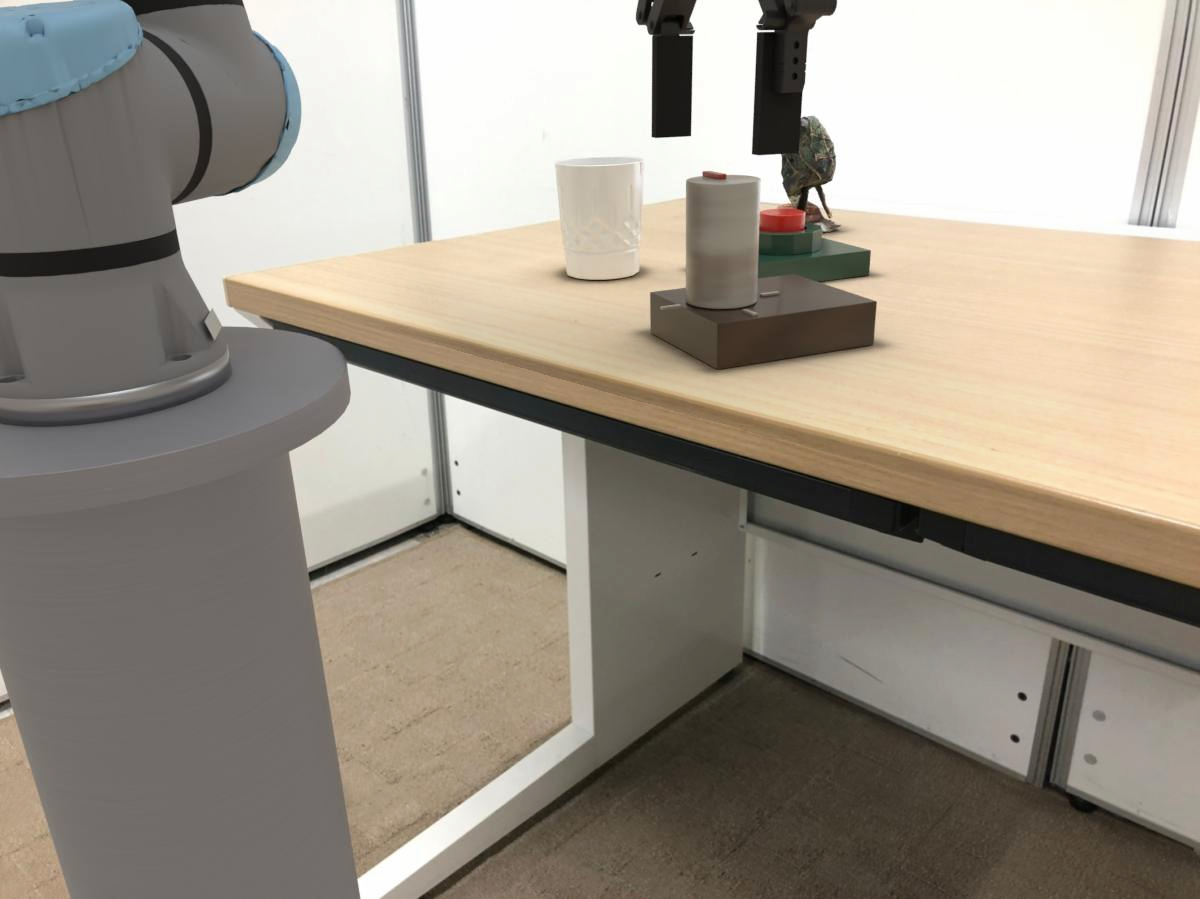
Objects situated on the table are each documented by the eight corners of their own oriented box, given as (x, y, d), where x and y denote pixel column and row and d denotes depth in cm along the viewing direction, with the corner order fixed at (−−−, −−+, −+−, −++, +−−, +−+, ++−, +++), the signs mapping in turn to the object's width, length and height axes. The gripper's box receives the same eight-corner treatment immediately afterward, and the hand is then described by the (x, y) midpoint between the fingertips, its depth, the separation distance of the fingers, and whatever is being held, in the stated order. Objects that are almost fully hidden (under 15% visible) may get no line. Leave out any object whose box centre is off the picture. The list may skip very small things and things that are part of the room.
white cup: (628, 261, 95) (626, 154, 92) (657, 277, 88) (656, 161, 85) (550, 268, 93) (544, 159, 90) (573, 285, 86) (568, 167, 83)
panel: (696, 373, 62) (696, 324, 61) (631, 335, 71) (630, 292, 69) (873, 344, 67) (877, 298, 65) (792, 312, 75) (794, 271, 74)
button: (774, 237, 85) (774, 216, 84) (750, 230, 88) (750, 210, 88) (813, 233, 86) (814, 212, 86) (788, 226, 90) (789, 207, 89)
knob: (770, 303, 65) (775, 175, 62) (706, 312, 64) (708, 180, 61) (734, 289, 70) (737, 168, 66) (673, 297, 68) (673, 173, 65)
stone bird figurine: (778, 240, 104) (786, 33, 96) (753, 223, 114) (758, 35, 106) (854, 236, 104) (867, 31, 97) (821, 219, 115) (831, 33, 107)
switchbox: (750, 290, 82) (751, 242, 81) (694, 269, 91) (695, 225, 90) (869, 275, 87) (872, 229, 85) (805, 256, 95) (807, 214, 94)
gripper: (935, -318, 45) (890, 159, 54) (688, -199, 67) (682, 129, 75) (796, -337, 43) (771, 166, 51) (585, -207, 64) (591, 133, 72)
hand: (718, 145), depth 63 cm, fingers open, 13 cm apart
